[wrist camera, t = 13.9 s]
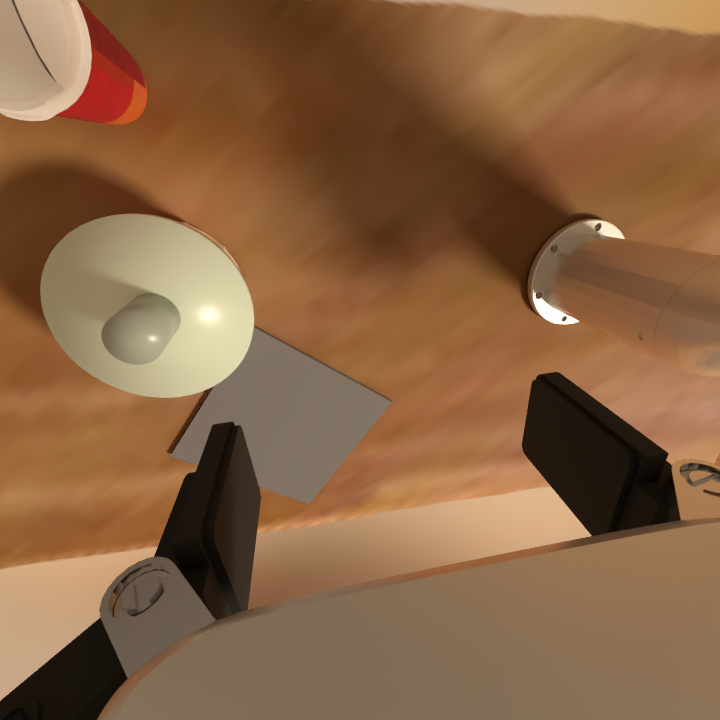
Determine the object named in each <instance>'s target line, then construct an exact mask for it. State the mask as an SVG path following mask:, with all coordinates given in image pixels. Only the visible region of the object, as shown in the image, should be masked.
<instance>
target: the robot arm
mask: <svg viewBox="0 0 720 720" xmlns="http://www.w3.org/2000/svg"><path fill="white" fill-rule="evenodd" d="M527 288H528V297H529V301H530V304H531V306H532V308H533V310H534V311H535V312H536V313H537V314H538V315H539V316H541V317H542V318H544V319H545V320H547V321H550V322H552V323H556V324H571V323H575V322H578V321H579V322H581V323H583V324H586V325H588V326H590V327H592V328H594V329H596V330H598V331H600V332H602V333H604V334H606V335H609V336H611V337H613V338H615V339H617V340H619V341H621V342H623V343H625V344H627V345H629V346H632V347H634V348H636V349H638V350H640V351H642V352H644V353H646V354H648V355H650V356H652V357H655V358H657V359H659V360H661V361H663V362H665V363H667V364H670V365H672V366H674V367H676V368H678V369H680V370H683V371H686V372H689V373H693V374H697V375H704V376H720V256H718V255H712V254H707V253H701V252H695V251H690V250H684V249H678V248H673V247H667V246H661V245H655V244H650V243H644V242H638V241H633V240H627V239H625V238H624V236H623V234H622V233H621V231H620V230H619V229H618V228H617V227H616V226H615V225H614V224H612V223H610V222H608V221H604V220H599V219H583V220H578V221H576V222H573V223H570V224H568V225H567V226H565V227H563V228H562V229H560V230H559V231H557V232H556V233H555V234H554V235H553V236H551V237H550V238H549V240H548V241H547V242H546V243H545V244H544V245H543V247H542V248H541V250H540V251H539V253H538V254H537V256H536V258H535V260H534V262H533V264H532V266H531V270H530V273H529V277H528V284H527ZM522 448H523V452H524V454H525V455H526V456H527V458H528V459H529V460H530V461H531V463H532V464H533V465H534V466H535V467H536V469H537V470H538V471H539V472H540V473H541V475H542V476H543V477H544V478H545V480H546V481H547V482H548V483H549V484H550V486H551V487H552V488H553V489H554V490H555V491H556V493H557V494H558V495H559V496H560V498H561V499H562V500H563V501H564V502H565V504H566V505H567V506H568V507H569V509H570V510H571V511H572V512H573V513H574V515H575V516H576V517H577V518H578V520H579V521H580V522H581V523H582V524H583V525H584V527H585V528H586V529H587V530H588V531H589V533H590V534H591V535H592V536H591V537H586V538H581V539H576V540H571V541H566V542H560V543H556V544H550V545H545V546H540V547H535V548H530V549H525V550H520V551H515V552H510V553H505V554H500V555H495V556H490V557H485V558H481V559H476V560H471V561H466V562H461V563H456V564H451V565H446V566H441V567H437V568H431V569H427V570H422V571H417V572H412V573H407V574H402V575H398V576H393V577H388V578H383V579H378V580H374V581H369V582H364V583H359V584H355V585H350V586H345V587H340V588H336V589H332V590H327V591H322V592H318V593H313V594H309V595H305V596H300V597H296V598H291V599H287V600H282V601H278V602H274V603H270V604H267V605H263V606H260V607H256V608H252V609H249V610H247V609H248V602H249V593H250V585H251V577H252V568H253V560H254V552H255V543H256V535H257V527H258V518H259V510H260V501H261V496H260V489H259V485H258V482H257V478H256V475H255V471H254V468H253V464H252V461H251V457H250V454H249V450H248V447H247V443H246V440H245V436H244V433H243V429H242V427H241V425H237V426H235V424H234V422H225V423H219V424H214V425H212V427H211V430H210V433H209V436H208V439H207V442H206V444H205V447H204V450H203V453H202V456H201V458H200V461H199V464H198V467H197V470H196V472H193V473H188V474H187V475H186V476H185V478H184V480H183V483H182V486H181V488H180V491H179V493H178V496H177V499H176V501H175V504H174V506H173V509H172V512H171V514H170V517H169V519H168V522H167V525H166V527H165V530H164V532H163V535H162V538H161V540H160V543H159V545H158V548H157V551H156V553H155V556H154V557H151V558H147V559H145V560H142V561H139V562H137V563H136V564H134V565H132V566H131V567H129V568H127V569H126V570H125V571H124V572H123V573H121V574H120V575H119V576H118V577H117V578H116V579H115V580H114V581H113V583H112V584H111V585H110V586H109V587H108V589H107V591H106V593H105V594H104V596H103V598H102V601H101V606H100V616H101V618H99V619H98V620H97V621H96V622H95V623H93V624H92V625H91V626H90V627H89V628H87V629H86V630H85V631H84V632H83V633H81V634H80V635H79V636H78V637H77V638H75V639H74V640H73V641H72V642H71V643H69V644H68V645H67V646H66V647H65V648H63V649H62V650H61V651H60V652H59V653H57V654H56V655H55V656H54V657H53V658H51V659H50V660H49V661H48V662H47V663H45V664H44V665H43V666H42V667H41V668H39V669H38V670H37V671H36V672H34V673H33V674H32V675H31V676H30V677H28V678H27V679H26V680H25V681H24V682H23V683H21V684H20V685H19V686H18V687H16V688H15V689H14V690H13V691H12V692H10V693H9V694H8V695H7V696H6V697H4V698H3V699H2V700H1V701H0V720H720V454H719V456H718V458H717V459H716V462H715V464H713V463H709V462H706V461H702V460H696V459H682V460H678V461H676V462H675V463H674V464H672V465H671V464H670V463H668V462H667V461H666V459H667V456H668V454H669V453H667V452H666V451H665V450H663V449H662V448H661V447H659V446H658V445H656V444H655V443H654V442H652V441H651V440H650V439H648V438H647V437H646V436H644V435H643V434H642V433H640V432H639V431H637V430H636V429H635V428H633V427H632V426H631V425H629V424H628V423H627V422H625V421H624V420H623V419H621V418H620V417H619V416H617V415H616V414H614V413H613V412H612V411H610V410H609V409H608V408H606V407H605V406H604V405H602V404H601V403H600V402H598V401H597V400H595V399H594V398H593V397H591V396H590V395H589V394H587V393H586V392H585V391H583V390H582V389H581V388H579V387H578V386H577V385H575V384H574V383H572V382H571V381H570V380H568V379H567V378H566V377H564V376H563V375H562V374H560V373H558V372H553V373H546V374H540V375H538V376H537V378H536V380H533V382H532V385H531V391H530V397H529V404H528V410H527V416H526V422H525V429H524V435H523V441H522Z"/></svg>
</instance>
